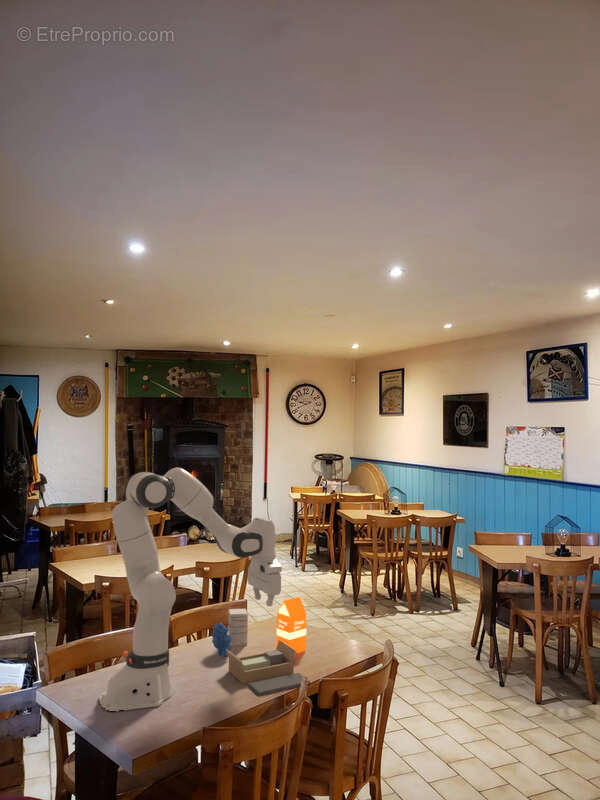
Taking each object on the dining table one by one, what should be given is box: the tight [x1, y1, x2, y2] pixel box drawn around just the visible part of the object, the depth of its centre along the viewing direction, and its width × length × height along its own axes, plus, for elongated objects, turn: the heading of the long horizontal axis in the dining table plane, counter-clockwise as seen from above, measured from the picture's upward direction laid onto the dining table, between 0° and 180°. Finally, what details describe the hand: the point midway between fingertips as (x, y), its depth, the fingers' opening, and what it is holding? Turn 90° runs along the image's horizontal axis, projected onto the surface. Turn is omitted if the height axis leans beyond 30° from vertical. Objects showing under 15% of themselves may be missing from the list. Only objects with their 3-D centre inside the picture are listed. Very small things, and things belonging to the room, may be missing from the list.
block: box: [242, 649, 283, 671], centre depth 215 cm, size 15×4×6 cm, turn 119°
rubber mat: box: [248, 672, 311, 696], centre depth 204 cm, size 19×8×1 cm, turn 120°
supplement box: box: [227, 608, 249, 647], centre depth 246 cm, size 7×7×13 cm
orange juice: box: [276, 596, 307, 654], centre depth 238 cm, size 8×9×20 cm
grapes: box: [211, 621, 233, 657], centre depth 231 cm, size 12×7×12 cm, turn 40°
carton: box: [226, 640, 296, 685], centre depth 215 cm, size 22×13×8 cm, turn 119°
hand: (263, 602), depth 217 cm, fingers open, 8 cm apart
